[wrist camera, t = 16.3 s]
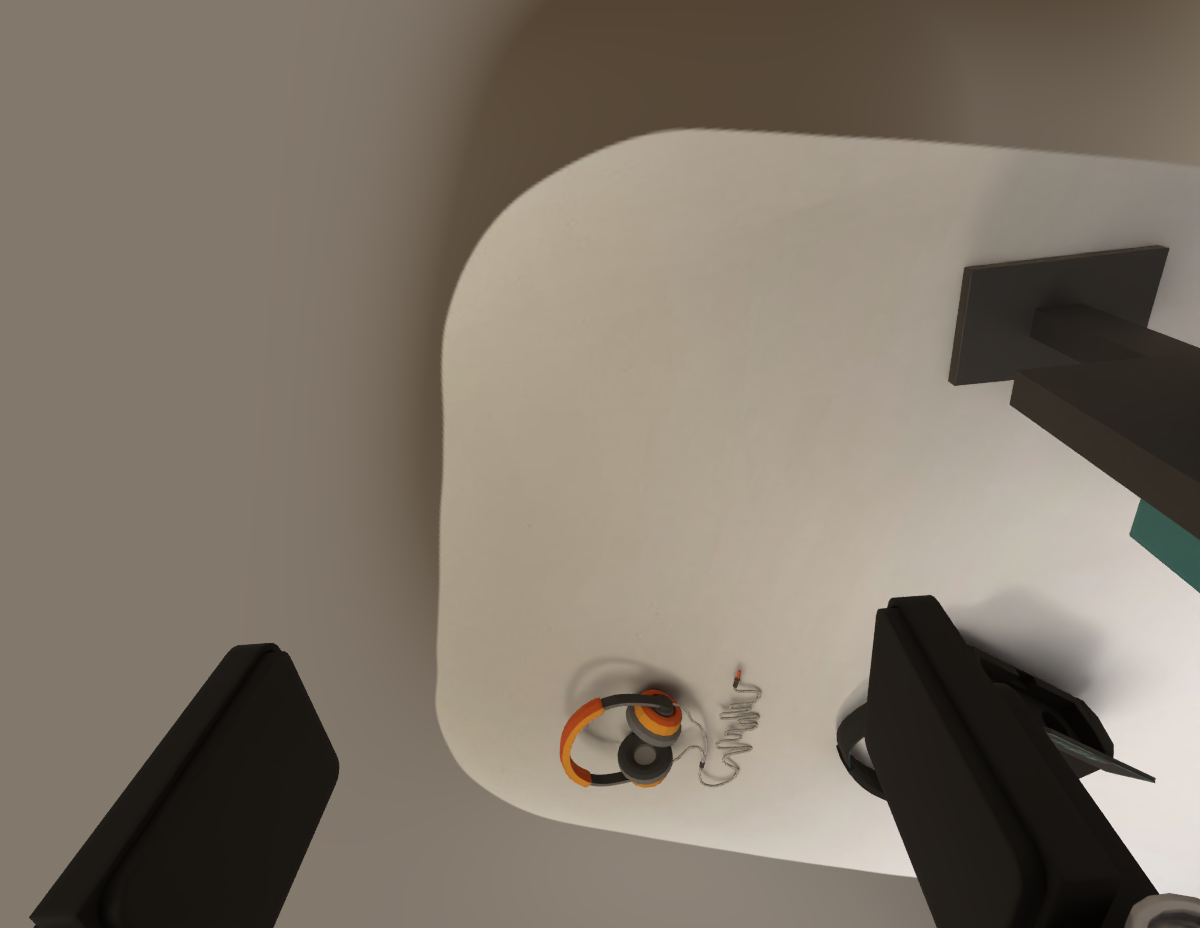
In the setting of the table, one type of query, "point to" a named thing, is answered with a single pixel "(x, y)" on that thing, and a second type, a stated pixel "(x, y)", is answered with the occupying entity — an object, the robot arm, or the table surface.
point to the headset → (1168, 543)
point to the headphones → (646, 737)
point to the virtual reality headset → (1051, 706)
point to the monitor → (1091, 366)
